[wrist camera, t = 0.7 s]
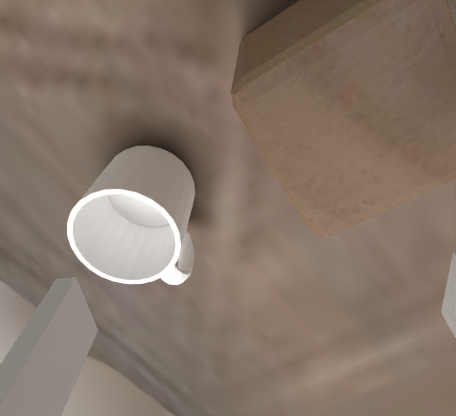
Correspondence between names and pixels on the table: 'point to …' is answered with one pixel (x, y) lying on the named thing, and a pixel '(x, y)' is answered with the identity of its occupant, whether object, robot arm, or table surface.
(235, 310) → the table surface
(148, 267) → the mug
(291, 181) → the block
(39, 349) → the robot arm
